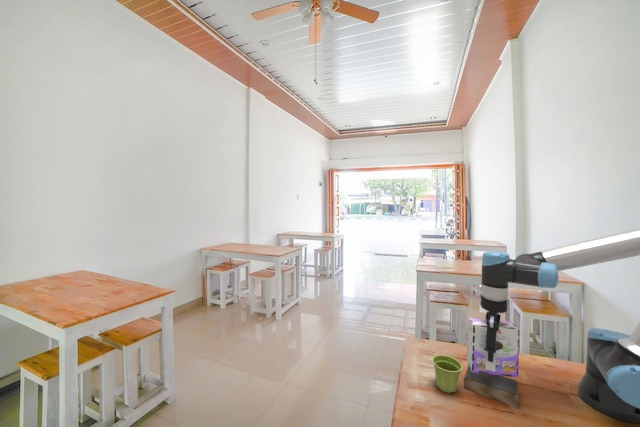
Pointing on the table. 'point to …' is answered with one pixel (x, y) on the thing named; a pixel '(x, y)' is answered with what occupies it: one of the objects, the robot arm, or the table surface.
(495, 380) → the plinth
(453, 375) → the plant pot
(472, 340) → the candy box
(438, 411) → the table surface
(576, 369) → the table surface
